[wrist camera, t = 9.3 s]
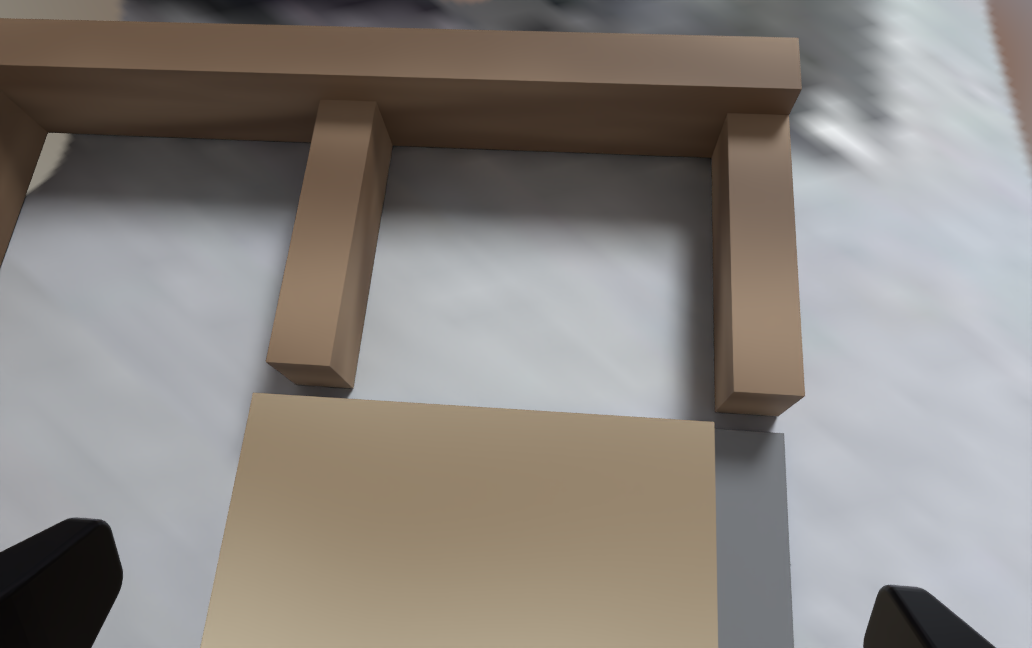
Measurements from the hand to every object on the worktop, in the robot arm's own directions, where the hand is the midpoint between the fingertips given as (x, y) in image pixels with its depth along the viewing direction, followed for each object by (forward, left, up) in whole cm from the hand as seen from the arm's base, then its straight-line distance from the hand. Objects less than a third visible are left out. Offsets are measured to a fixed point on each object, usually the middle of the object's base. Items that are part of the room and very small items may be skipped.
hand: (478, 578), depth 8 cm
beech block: (-1, 0, -8) cm, 8 cm away
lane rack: (+5, +9, -8) cm, 13 cm away
